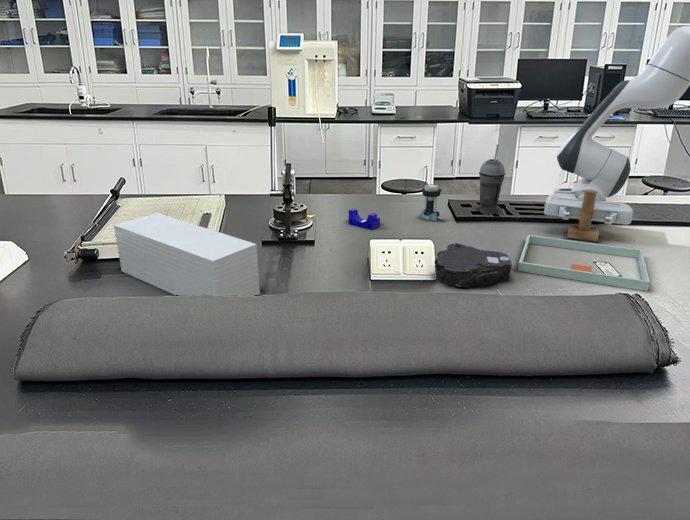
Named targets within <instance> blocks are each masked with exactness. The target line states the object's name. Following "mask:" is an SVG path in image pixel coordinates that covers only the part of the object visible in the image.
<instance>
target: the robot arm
mask: <svg viewBox="0 0 690 520" xmlns="http://www.w3.org/2000/svg"><path fill="white" fill-rule="evenodd" d="M689 87H690V25H683V26H679V27H677V28H675V29H674V30H673V31H672V32H671V33H670V34H669V35H668V36H667V37H666V39H665V40H664V41H663V42H662V43H661V45H660V46H659V47H658V48H657V50H656V51H655V52H654V54H653V55H652V56H651V58H650V59H649V61H648V62H647V64H646V65H645V67H644V68H643V70H642V71H640V73H638V74H637V75H636V76H634V77H633V78H631V79H626V80H622V81H621V82H620V83H618V84H617V85H616V86H615V87H614V88H613V89H612V90H611V91H610V92H609V93H608V94H607V95H606V97H605V98H603V100H602V101H601V102H600V103H599V104H598V106H597V107H596V108H595V109H594V110H593V111H592V112H591V113H590V115H589V116H588V117H587V118H586V119H585V121H584V122H583V123H582V124H581V125H580V127H578V129H577V130H575V132H574V133H573V134H572V135H571V136H569V137H568V138H567V139H566V140H565V141H564V142H563V143H562V144H561V146H560V148H559V150H558V152H557V155H556V160H557V163H558V166H559V167H560V169H561V170H563V171H565V172H568V173H571V174H574V175H577V176H578V177H580V179H578V180H577V181H576V182H575V184H574V185H573V186H572V187H570V188H555V189H554V190H553V193H551V194H549V195H548V197H547V198H546V199H545V203H544V210H543V214H544V215H545V216H548V217H557V218H558V217H559V218H562V220H566V221H569V219H575V220H578V221H579V219H580V213H581V208H582V202H583V197H584V191H585V190H586V189H592V190H596V191H597V195H596V200H595V205H594V208H593V216H592V219H591V222H601V223H604V225H609V226H612V224H618V225H624V226H625V225H630V224H631V223H632V221H633V220H632V219H633V216H634V209H633V208H632V207H631V206H630V205H629V204H627V203H625V202H624V203H623V202H617V201H616V202H615V201H607V199H606V198H611V197H613V196H615V195H616V194H618V193H619V192H620V191H621V190H622V188H623V187H624V185H625V184H626V182H627V180H628V179H629V176H630V174H631V171H632V170H631V160H630V158H629V156H627V155H625V154H623V153H621V152H619V151H617V150H615V149H612V148H610V147H608V146H606V145H603V144H601V143H599V142H597V141H595V140H594V139H593V136H594V135H595V134H596V133H597V132H598V130H599V129H600V128H601V127H602V126H603V125H604V124H605V123H606V121H607V120H608V119H609V118H610V117H611V116H612V115H613V114H614V113H616V112H618V111H619V110H622V109H643V110H657V109H664V108H667V107H670V106H672V105H673V104H675V103H677V102H678V101H679V100H680V99H681V97H683V95H684V94H685V93H686V91H687V90H688V88H689Z"/></svg>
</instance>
